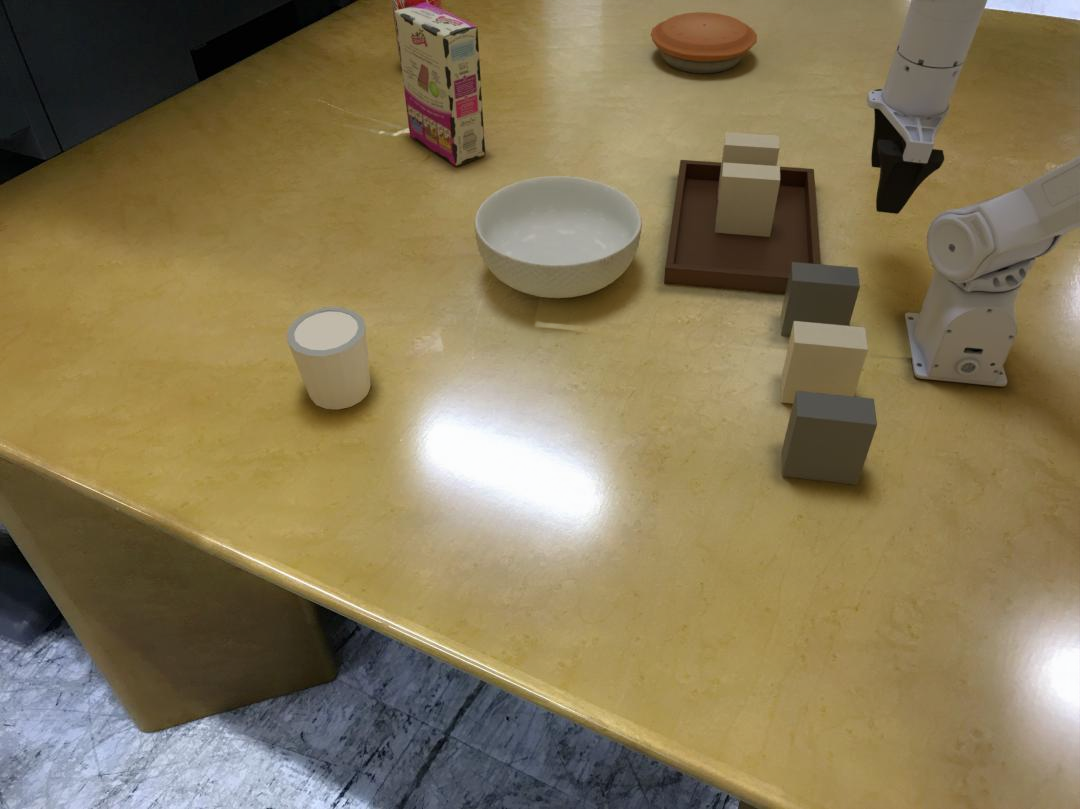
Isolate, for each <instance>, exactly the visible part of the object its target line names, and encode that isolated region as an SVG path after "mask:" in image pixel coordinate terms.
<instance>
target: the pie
mask: <svg viewBox="0 0 1080 809" xmlns="http://www.w3.org/2000/svg"><path fill="white" fill-rule="evenodd" d="M650 32H651V33H650V37H651V40H652V42H653V44H654V45H655V46H656V48H658V51H659V54H660V55H661V57H662V59H663V60H664V62H665V63H666V64H667V65H668V66H669V67H672V68H674V69H676V70H678V71H682V72H685V73H692V74H717V73H721V72H725V71H728V70H730V69H732V68H734V67H735V66H736V65H738V63H739V62H740V61H741V59H742V58H743V57H744V55H745V54H746V53H747V52H749V50H751V49H752V48H753V47H754V46H755V44H757V42H758V35H757V33H756V31H755V29H753V28H752V27H751V26H749V25H748V24H746V23H745V22H742V21H741V20H740V19H738V18H736V17H733V16H731V15H726V14H722V13H716V12H707V11H705V12H703V11H702V12H701V11H699V12H698V11H697V12H687V13H686V12H685V13H681V14H676V15H673V16H671V17H669V18H667V19H665V20H663V21H661V22H659V23H658V24H656V25H655V26H654V27H652V29H651V31H650Z"/></svg>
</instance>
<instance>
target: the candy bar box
mask: <svg viewBox="0 0 1080 809" xmlns="http://www.w3.org/2000/svg"><path fill="white" fill-rule="evenodd" d="M394 12H395V18H396V26H397V34H398V42H399V51H400V57H399V60H400V59H401V61H400V66H401V74H402V81H403V90H404V98H405V108H406V115H407V122H408V123H407V124H408V131H409V137H410V138H412V139H413V140H415V141H416V142H418V143H419V144H421V145H423V146H424V147H426V148H427V149H429V150H430V151H432V152H434V153H435V154H437V155H438V156H440V157H441V158H442V159H445V160H446V161H448V162H449V163H450V164H452V165H454V166H456V167H458V166H462V165H463V164H466V163H469V162H472V161H475V160H478V159H480V158H483V157H485V156H486V144H485V127H484V126H485V125H484V112H483V95H482V78H481V76H482V75H481V64H480V63H481V61H480V46H479V31H478V28H479V26H478V25H477V24H476V25H475V24H473V23H471V22H469V21H467V20H465V19H463V18H460V17H458V16H456V15H454V14H452V13H450V12H449V11H446V10H444V9H443V8H442V9H439V8H437V7H435V6H433V5H431V4H429V3H427V2H425V3H421V4H417V5H413V6H410V7H406V8H403V9H400V10H396V11H394Z"/></svg>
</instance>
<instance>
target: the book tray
mask: <svg viewBox="0 0 1080 809" xmlns="http://www.w3.org/2000/svg"><path fill="white" fill-rule="evenodd" d="M721 162H722V161H721ZM721 162H719V161H705V160H689V159H680V160H679V166H678V174H677V182H676V187H675V195H674V203H673V210H672V216H671V224H670V232H669V238H668V244H667V245H668V246H667V251H666V252H667V253H666V260H665V267H664V277H663V284H664V285H675V286H676V285H677V286H687V287H696V288H697V287H698V288H708V289H709V288H710V289H711V288H712V289H720V290H731V291H732V290H733V291H743V292H754V293H767V294H775V295H785V292H786V287H787V283H788V278H789V273H790V268H791V263H792V262H798V263H809V264H821V265H822V259H821V246H820V232H819V220H818V219H819V218H818V206H817V193H816V192H817V191H816V180H815V179H816V178H815V168H808V167H807V168H806V167H794V166H793V167H792V166H780V185H779V190H778V195H777V201H776V206H775V212H774V217H773V223H772V228H771V234H770V237H763V236H751V235H738V234H726V233H715V224H716V214H717V206H718V200H717V198H718V186H719V178H720V170H721Z"/></svg>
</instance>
